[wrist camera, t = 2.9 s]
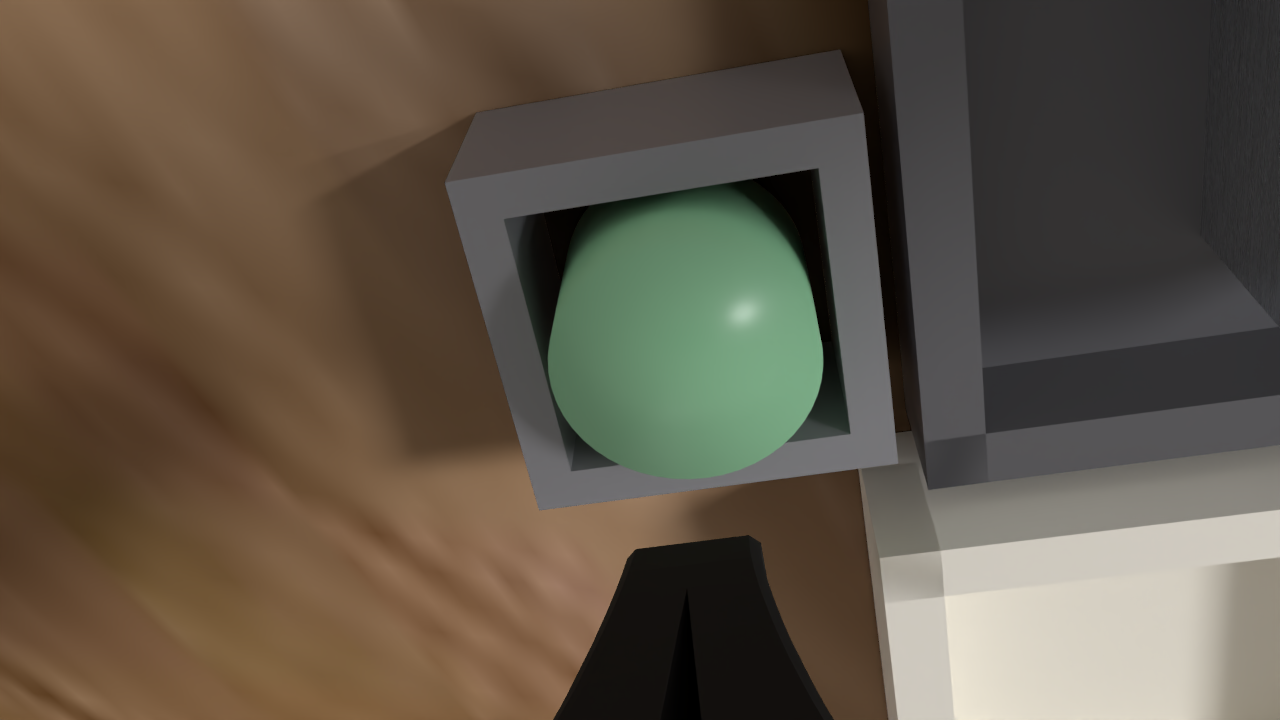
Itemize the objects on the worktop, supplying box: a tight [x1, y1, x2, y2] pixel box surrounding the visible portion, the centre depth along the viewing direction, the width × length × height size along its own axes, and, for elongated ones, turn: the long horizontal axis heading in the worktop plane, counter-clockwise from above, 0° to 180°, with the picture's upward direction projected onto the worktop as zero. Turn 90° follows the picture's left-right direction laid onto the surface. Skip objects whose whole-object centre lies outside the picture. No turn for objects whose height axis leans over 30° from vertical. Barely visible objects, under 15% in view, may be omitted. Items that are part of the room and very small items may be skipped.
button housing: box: [445, 50, 898, 510], centre depth 20 cm, size 6×6×3 cm
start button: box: [548, 179, 823, 479], centre depth 19 cm, size 4×4×3 cm
